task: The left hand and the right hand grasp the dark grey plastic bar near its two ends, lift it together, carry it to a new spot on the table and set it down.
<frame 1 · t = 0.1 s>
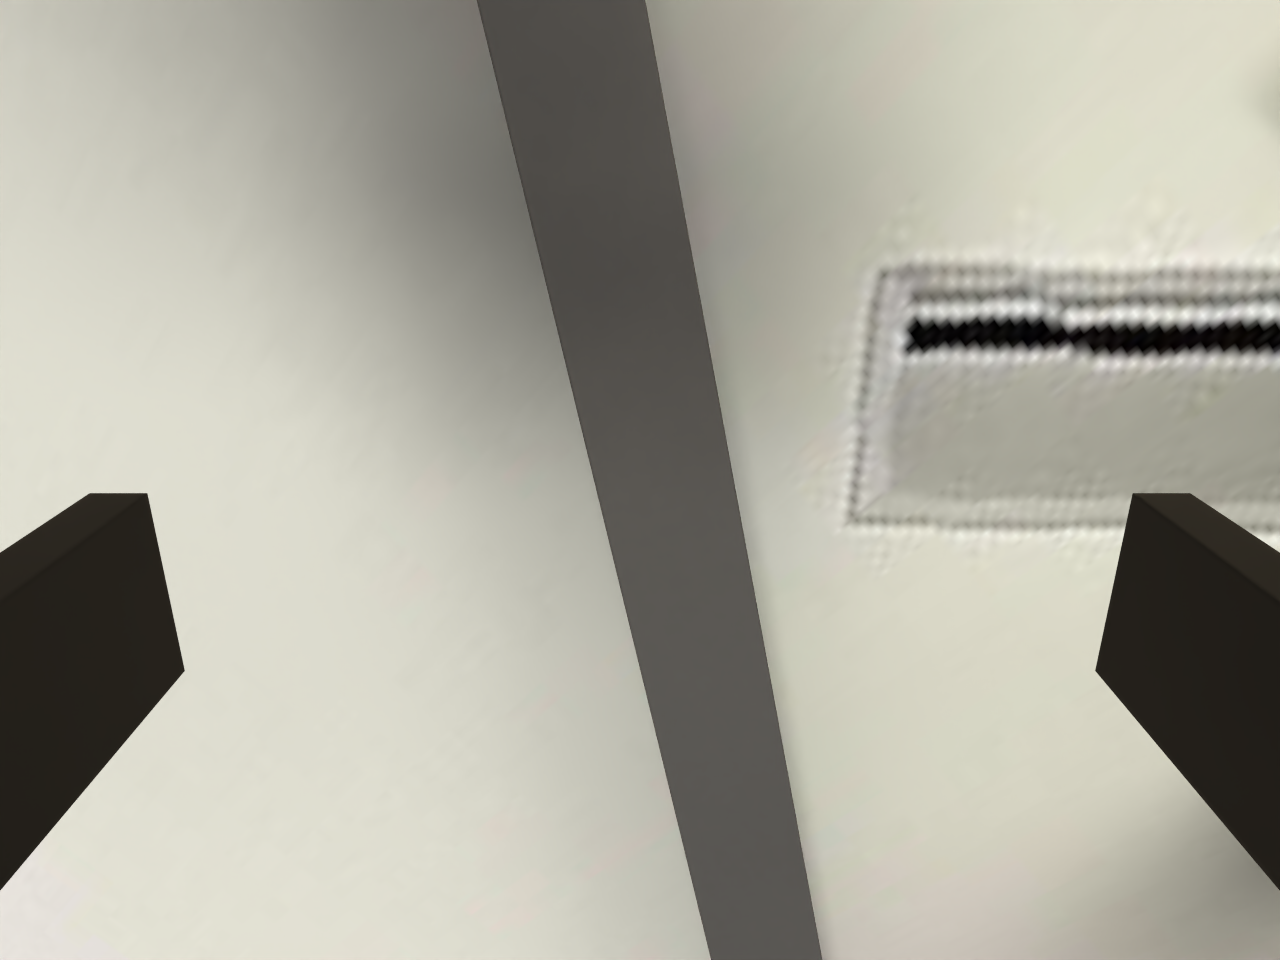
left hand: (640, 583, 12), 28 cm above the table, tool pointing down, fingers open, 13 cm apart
bar: (704, 628, 45), on the table
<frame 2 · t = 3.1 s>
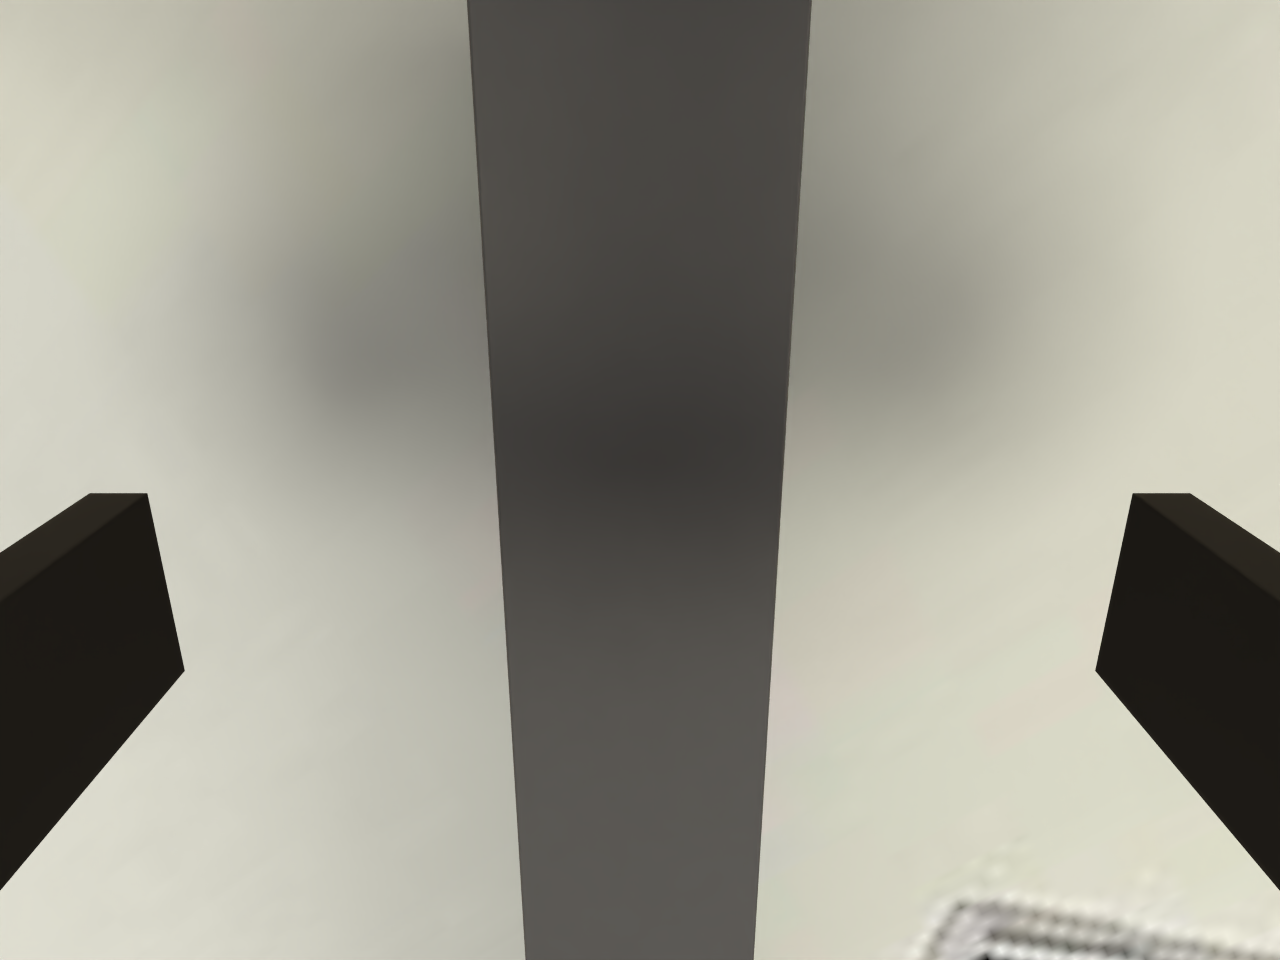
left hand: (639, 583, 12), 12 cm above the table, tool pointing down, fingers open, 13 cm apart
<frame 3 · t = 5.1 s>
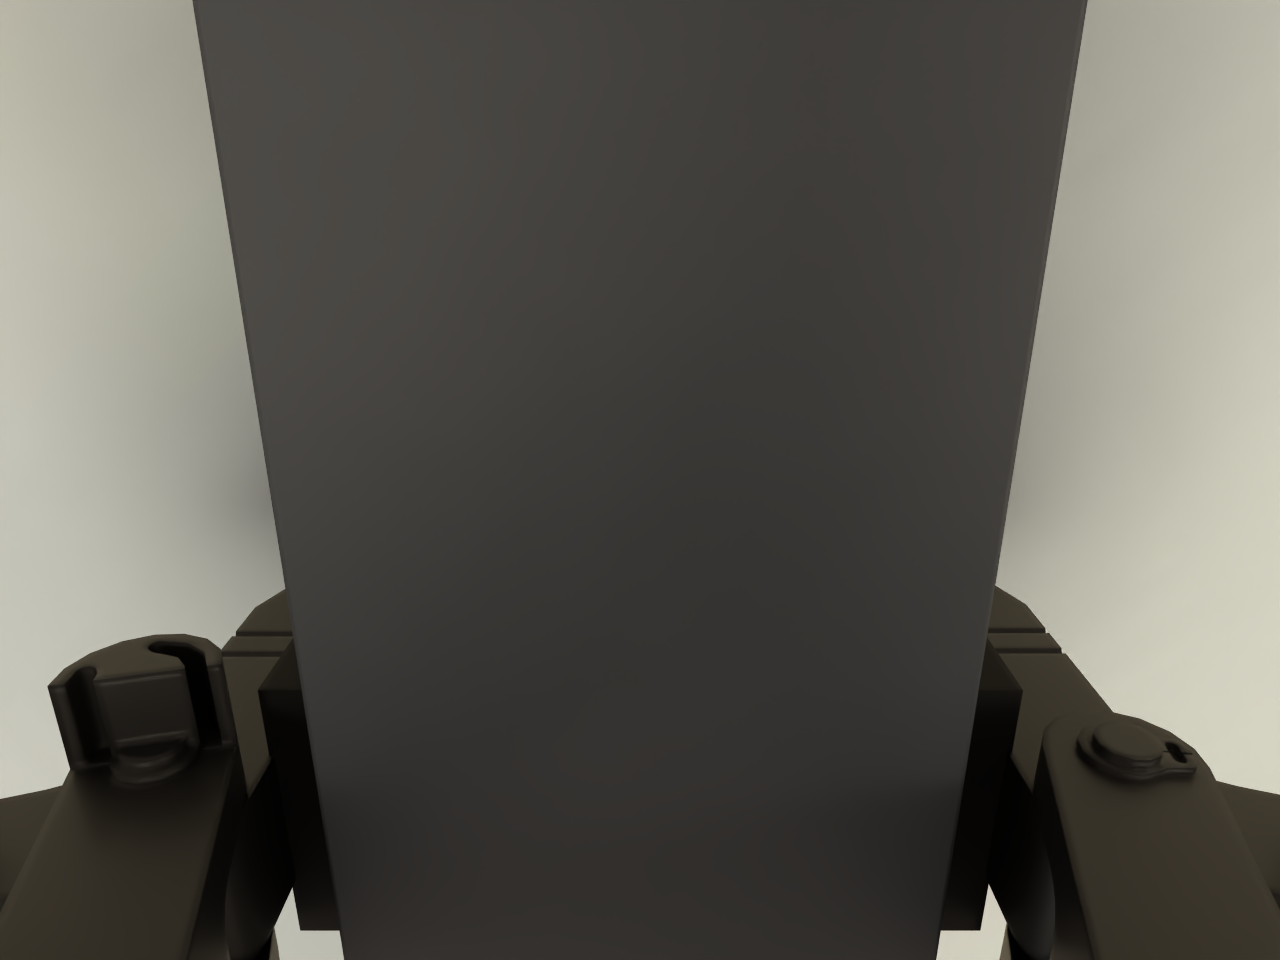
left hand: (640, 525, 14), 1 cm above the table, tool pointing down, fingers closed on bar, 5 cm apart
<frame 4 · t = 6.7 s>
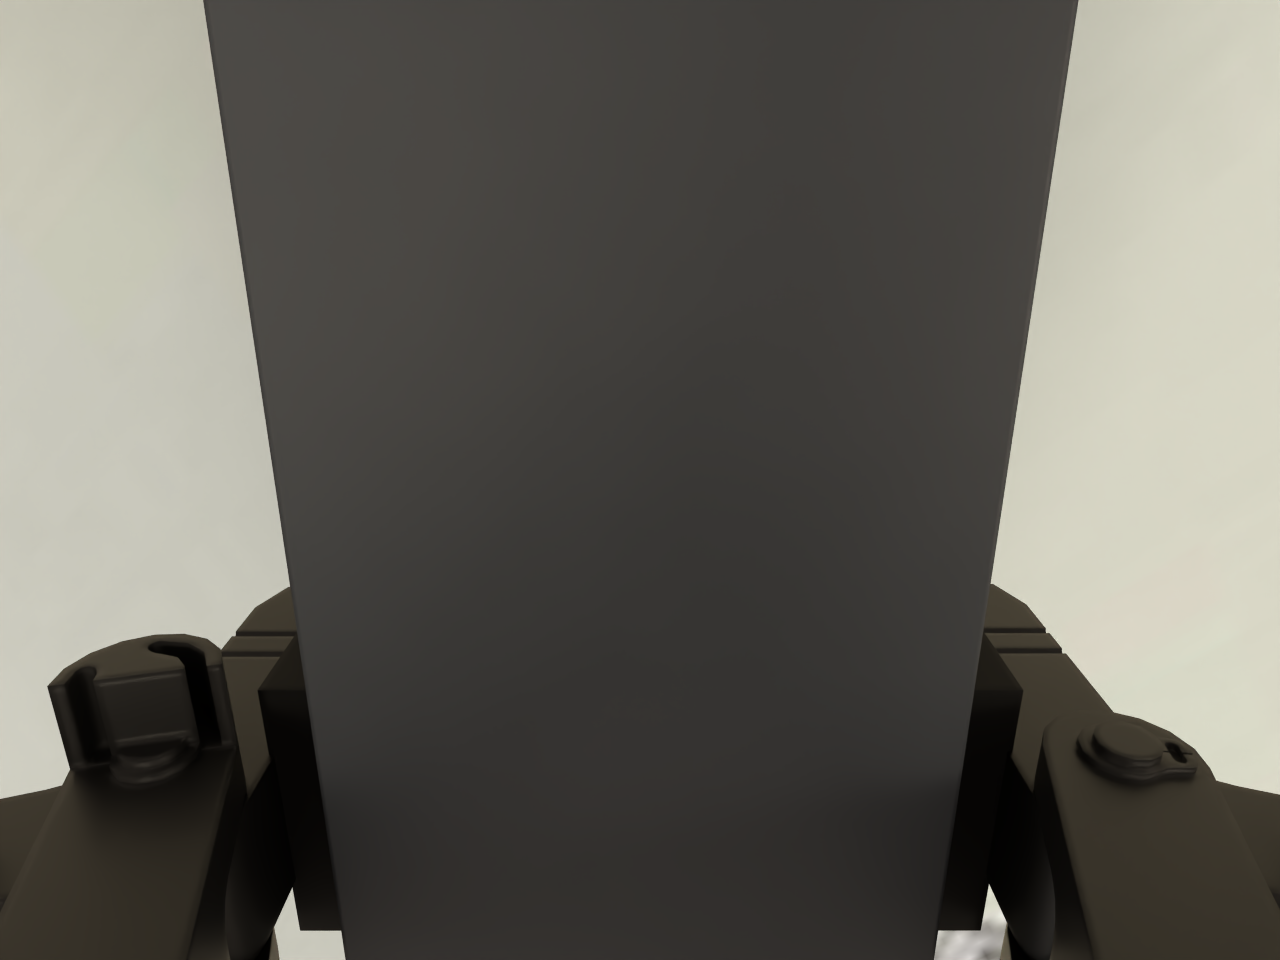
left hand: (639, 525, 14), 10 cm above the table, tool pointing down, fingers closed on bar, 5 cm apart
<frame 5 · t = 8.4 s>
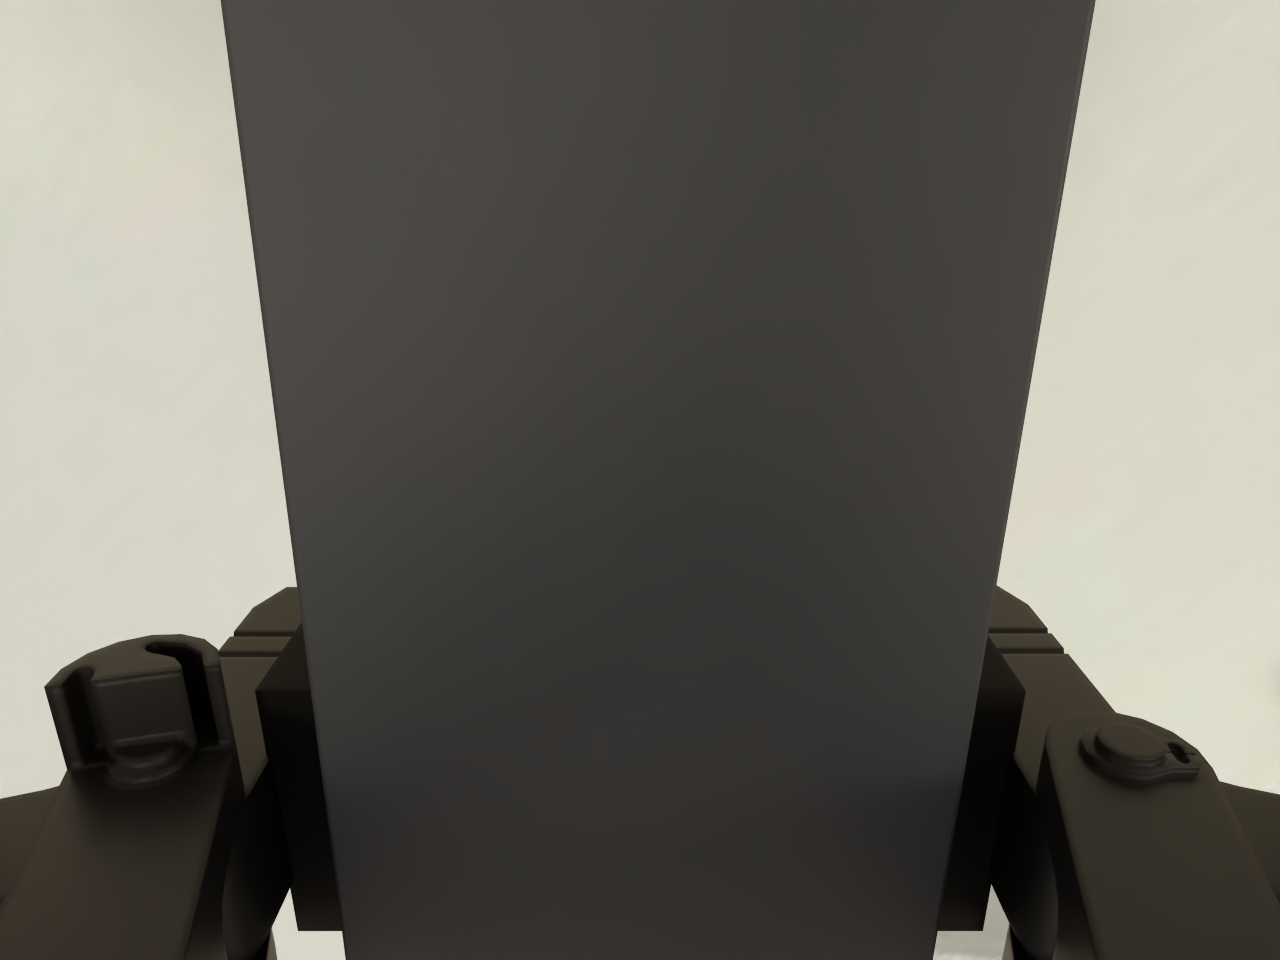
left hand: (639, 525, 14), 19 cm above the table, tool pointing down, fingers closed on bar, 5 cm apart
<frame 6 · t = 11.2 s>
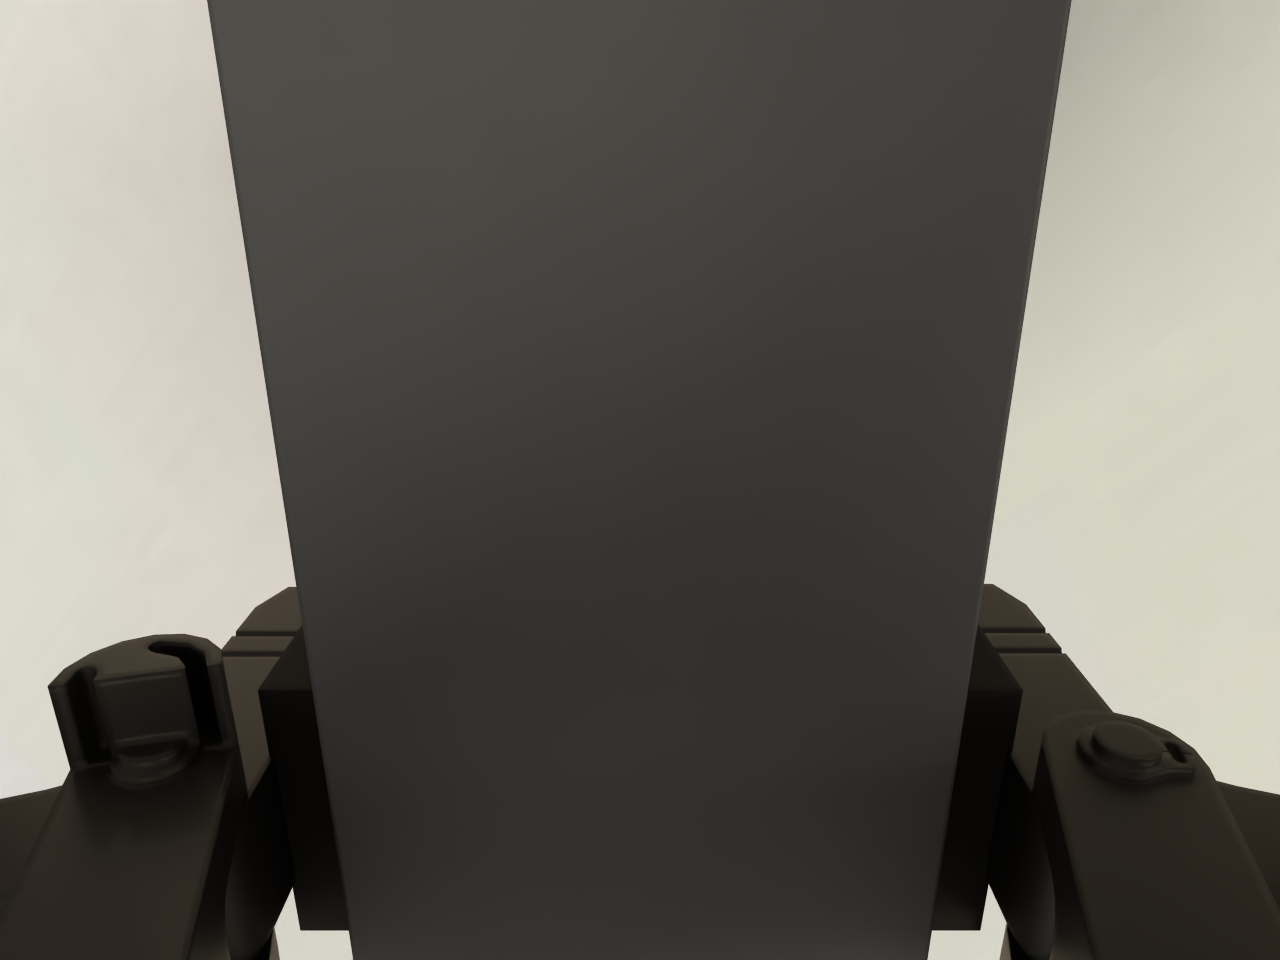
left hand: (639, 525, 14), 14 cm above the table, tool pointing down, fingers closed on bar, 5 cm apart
when the left hand's fingers open (2 cm above the table, at t = 13.5 s): bar stays where it is, on the table.
when the right hand's fingers open (4 cm above the table, at t = 13.7 s): bar stays where it is, on the table.
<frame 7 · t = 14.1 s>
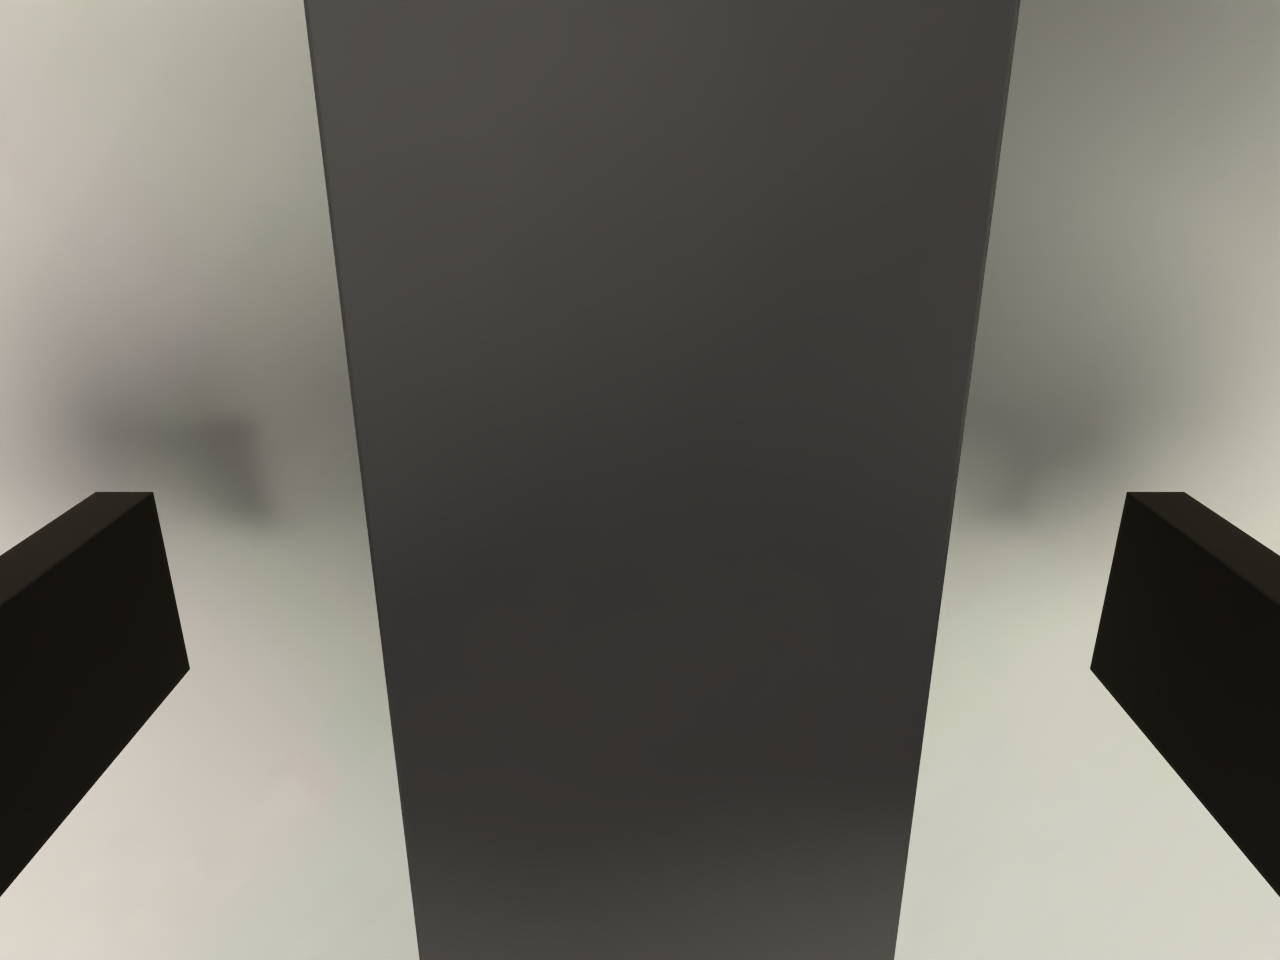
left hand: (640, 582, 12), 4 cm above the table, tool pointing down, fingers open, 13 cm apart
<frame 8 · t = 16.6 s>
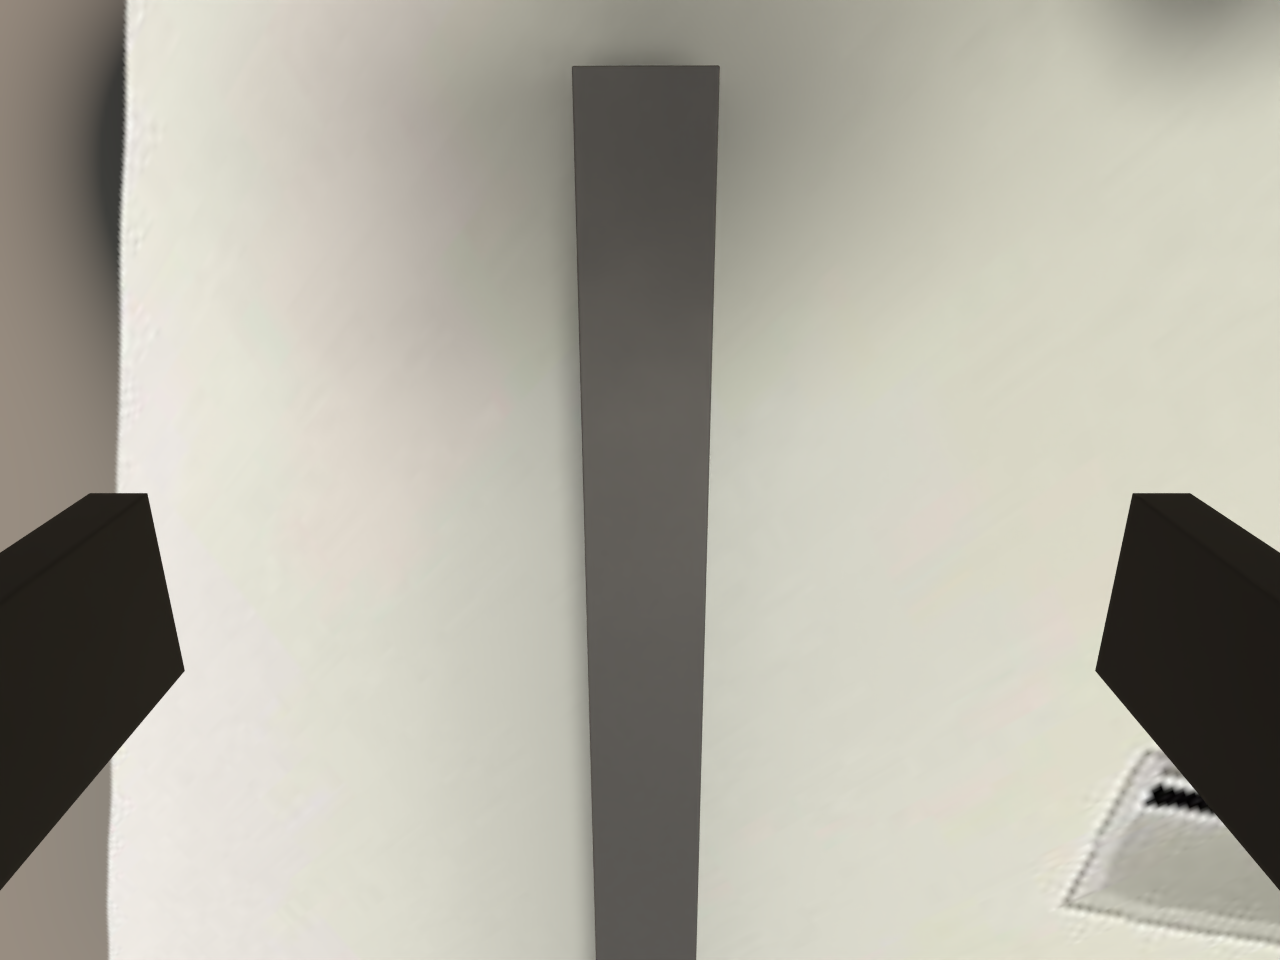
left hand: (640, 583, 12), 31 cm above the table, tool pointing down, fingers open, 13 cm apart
bar: (645, 848, 53), on the table
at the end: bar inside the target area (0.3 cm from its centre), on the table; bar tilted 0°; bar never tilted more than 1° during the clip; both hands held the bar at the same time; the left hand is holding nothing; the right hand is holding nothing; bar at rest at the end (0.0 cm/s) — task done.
